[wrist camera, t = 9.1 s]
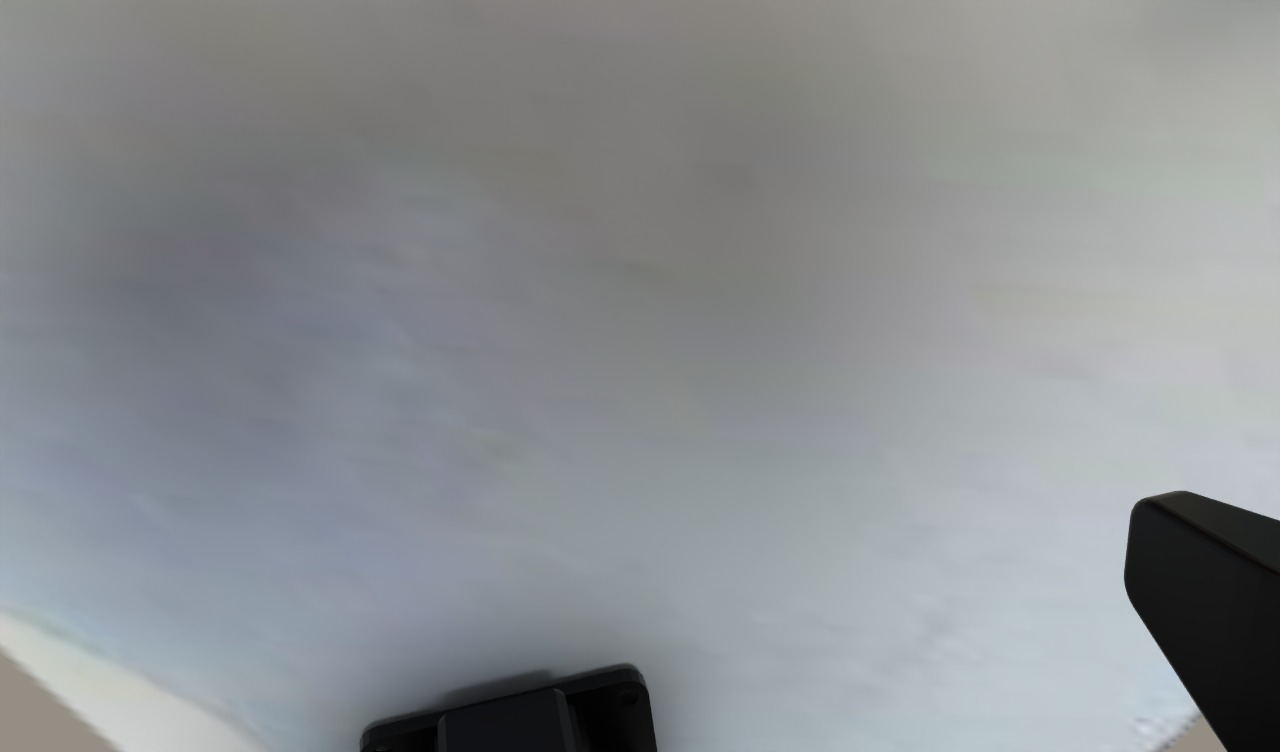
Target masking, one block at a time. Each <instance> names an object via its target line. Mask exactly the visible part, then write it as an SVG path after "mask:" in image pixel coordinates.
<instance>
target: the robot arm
mask: <svg viewBox="0 0 1280 752" xmlns="http://www.w3.org/2000/svg"><path fill="white" fill-rule="evenodd" d="M1124 582H1125V588H1126V591H1127V595H1128V597H1129V599H1130V602H1131V603H1132V605H1133V607H1134V609H1135V610H1136V612H1137V613H1138V615H1139V616H1140V618H1141V619H1142V621H1143V623H1144V624H1145V626H1146V627H1147V629H1148V630H1149V632H1150V633H1151V635H1152V637H1153V638H1154V640H1155V641H1156V643H1157V644H1158V646H1159V647H1160V649H1161V651H1162V652H1163V654H1164V655H1165V657H1166V658H1167V660H1168V661H1169V663H1170V665H1171V666H1172V668H1173V669H1174V671H1175V672H1176V674H1177V675H1178V677H1179V679H1180V680H1181V682H1182V683H1183V685H1184V686H1185V688H1186V690H1187V691H1188V693H1189V694H1190V696H1191V697H1192V699H1193V700H1194V702H1195V704H1196V705H1197V707H1198V708H1199V710H1200V711H1201V713H1202V714H1203V716H1204V718H1205V719H1206V721H1207V722H1208V724H1209V725H1210V727H1211V728H1212V730H1213V731H1214V733H1215V734H1216V735H1217V737H1218V738H1219V740H1220V741H1221V743H1222V744H1223V746H1224V747H1225V749H1226V750H1227V752H1280V521H1279V520H1276V519H1273V518H1270V517H1267V516H1264V515H1260V514H1257V513H1254V512H1251V511H1248V510H1245V509H1242V508H1239V507H1235V506H1232V505H1229V504H1226V503H1223V502H1220V501H1217V500H1214V499H1210V498H1207V497H1204V496H1201V495H1198V494H1195V493H1192V492H1188V491H1173V492H1169V493H1164V494H1160V495H1156V496H1151V497H1147V498H1144V499H1141V500H1140V501H1138V502H1137V503H1136V504H1135V506H1134V507H1133V509H1132V511H1131V516H1130V525H1129V533H1128V542H1127V551H1126V560H1125V569H1124ZM630 689H632V691H631V692H630V693H627V694H625V695H619V693H620V692H622V691H624V690H630ZM381 747H387V748H389V750H387V751H377V750H376V749H378V748H381ZM360 752H657V747H656V740H655V733H654V727H653V720H652V713H651V706H650V699H649V693H648V690H647V686H646V683H645V680H644V678H643V675H642V674H640V673H639V672H638V671H635V670H632V669H622V670H617V671H613V672H609V673H604V674H600V675H596V676H591V677H587V678H583V679H578V680H574V681H570V682H566V683H561V684H557V685H553V686H548V687H544V688H540V689H536V690H531V691H527V692H523V693H518V694H514V695H510V696H506V697H501V698H497V699H493V700H488V701H484V702H480V703H476V704H471V705H467V706H463V707H458V708H454V709H450V710H445V711H441V712H437V713H433V714H428V715H424V716H420V717H415V718H411V719H407V720H403V721H398V722H394V723H390V724H385V725H381V726H377V727H375V728H372V729H370V730H368V731H367V732H366V733H365V734H364V735H363V736H362V738H361V740H360Z"/></svg>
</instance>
